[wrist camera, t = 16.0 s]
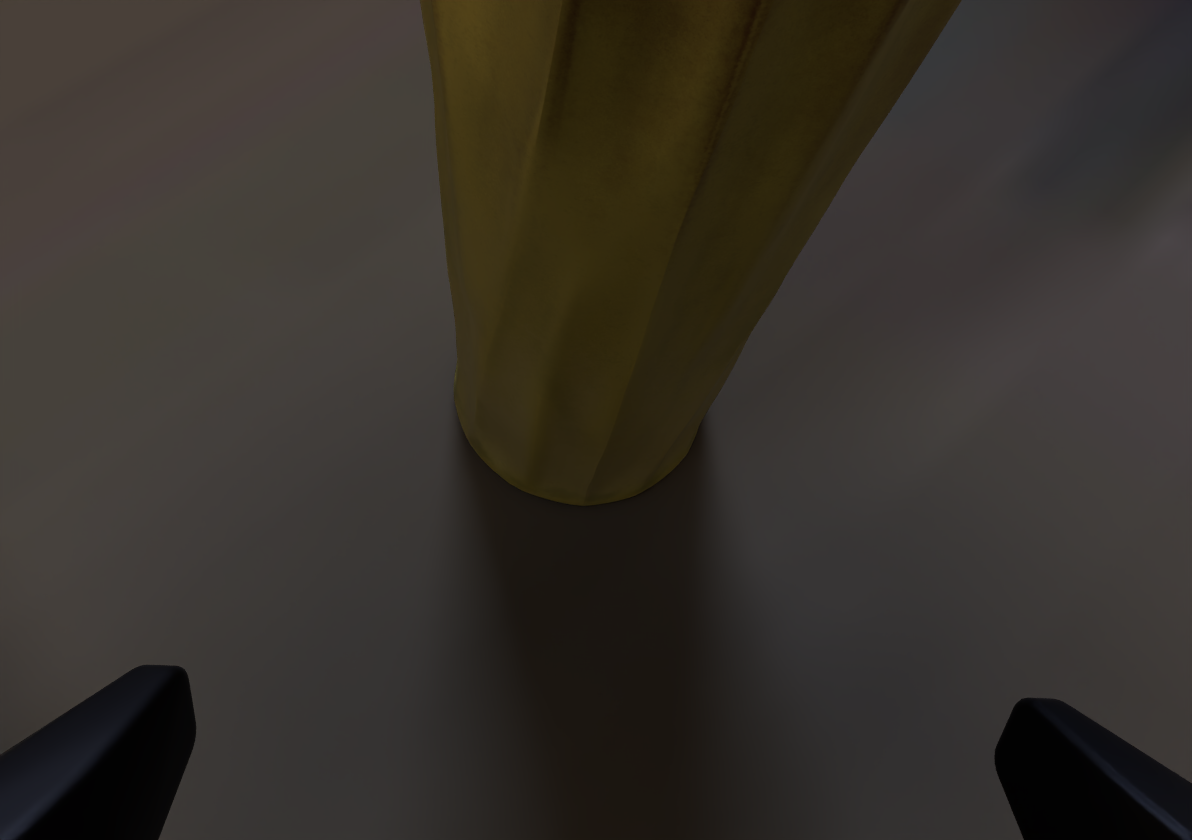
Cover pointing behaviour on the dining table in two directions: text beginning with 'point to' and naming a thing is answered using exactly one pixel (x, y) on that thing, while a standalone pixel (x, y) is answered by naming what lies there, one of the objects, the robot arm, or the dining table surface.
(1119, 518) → the dining table surface
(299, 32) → the dining table surface
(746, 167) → the vase
